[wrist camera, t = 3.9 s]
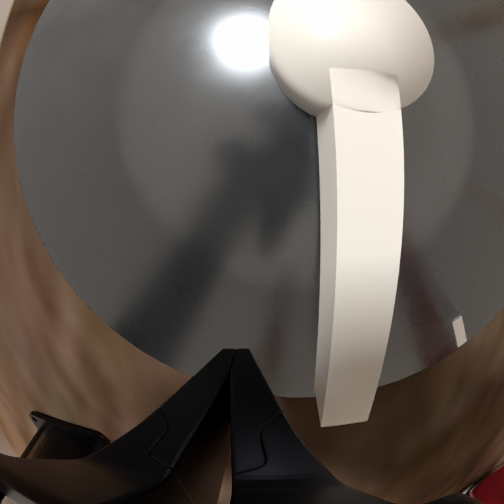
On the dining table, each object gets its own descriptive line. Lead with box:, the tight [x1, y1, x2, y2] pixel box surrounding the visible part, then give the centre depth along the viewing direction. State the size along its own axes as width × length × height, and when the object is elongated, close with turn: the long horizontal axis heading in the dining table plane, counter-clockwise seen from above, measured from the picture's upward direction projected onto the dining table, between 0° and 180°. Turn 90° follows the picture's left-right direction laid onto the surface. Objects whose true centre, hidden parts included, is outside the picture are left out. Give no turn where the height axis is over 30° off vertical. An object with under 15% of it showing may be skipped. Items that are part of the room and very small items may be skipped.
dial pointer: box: [268, 0, 434, 427], centre depth 7 cm, size 13×4×2 cm, turn 4°
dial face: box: [14, 0, 504, 398], centre depth 7 cm, size 24×24×1 cm
